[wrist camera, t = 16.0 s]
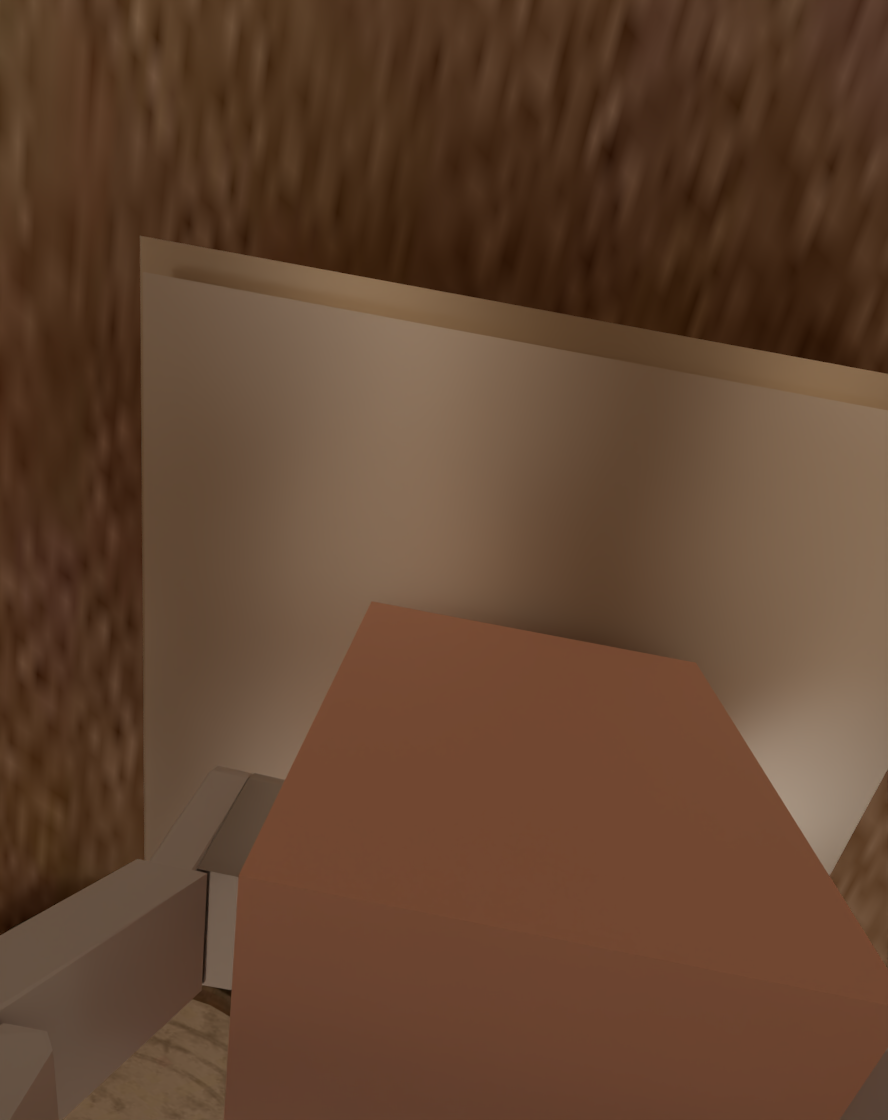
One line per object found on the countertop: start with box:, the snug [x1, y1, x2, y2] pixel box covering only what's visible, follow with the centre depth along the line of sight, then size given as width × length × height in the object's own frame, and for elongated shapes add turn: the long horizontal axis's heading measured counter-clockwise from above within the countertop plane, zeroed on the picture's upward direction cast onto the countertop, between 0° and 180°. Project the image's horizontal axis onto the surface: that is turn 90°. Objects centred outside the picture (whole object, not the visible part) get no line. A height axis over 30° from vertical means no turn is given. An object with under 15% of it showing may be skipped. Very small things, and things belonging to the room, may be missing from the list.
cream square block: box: [140, 236, 888, 876], centre depth 13 cm, size 14×14×6 cm
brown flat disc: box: [8, 915, 232, 1120], centre depth 23 cm, size 16×16×3 cm
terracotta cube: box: [224, 601, 888, 1120], centre depth 8 cm, size 5×5×5 cm
